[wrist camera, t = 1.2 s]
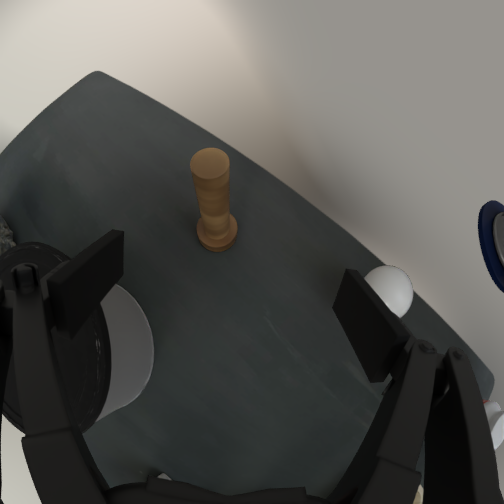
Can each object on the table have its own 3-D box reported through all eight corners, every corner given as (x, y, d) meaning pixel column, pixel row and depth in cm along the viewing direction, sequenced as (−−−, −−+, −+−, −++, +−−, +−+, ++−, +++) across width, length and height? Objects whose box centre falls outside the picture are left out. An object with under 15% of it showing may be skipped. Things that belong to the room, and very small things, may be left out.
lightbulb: (374, 328, 34) (422, 322, 23) (333, 323, 34) (373, 317, 23) (377, 283, 36) (424, 263, 25) (338, 277, 36) (377, 253, 25)
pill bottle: (451, 385, 32) (514, 389, 18) (457, 419, 30) (515, 430, 16) (417, 413, 30) (482, 430, 16) (425, 447, 28) (482, 469, 14)
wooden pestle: (208, 210, 37) (196, 132, 22) (243, 223, 37) (251, 149, 22) (191, 243, 36) (166, 178, 20) (228, 257, 35) (226, 199, 20)
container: (171, 298, 33) (130, 271, 19) (141, 431, 28) (93, 478, 13) (60, 262, 33) (-4, 224, 19) (35, 377, 28) (-33, 382, 13)
